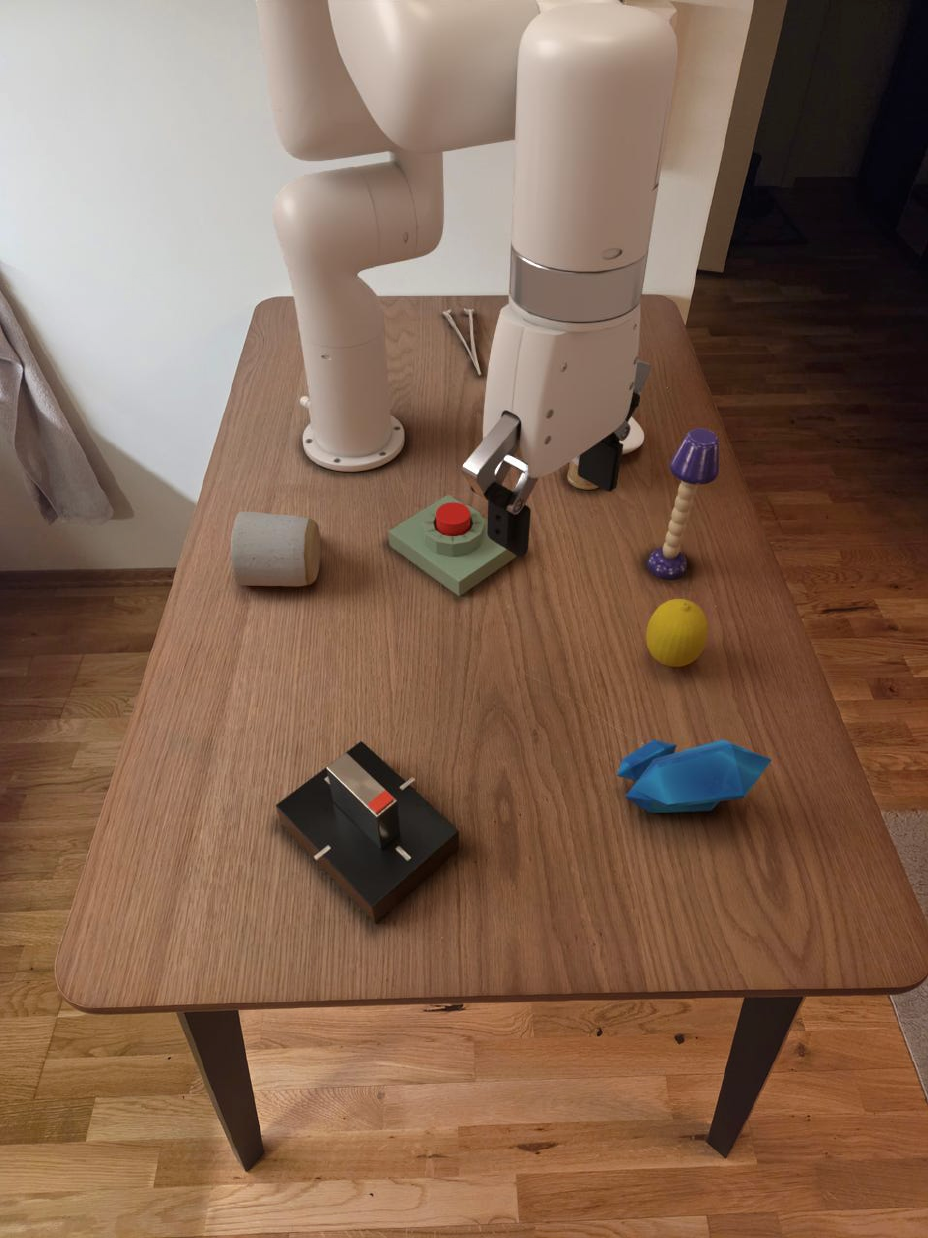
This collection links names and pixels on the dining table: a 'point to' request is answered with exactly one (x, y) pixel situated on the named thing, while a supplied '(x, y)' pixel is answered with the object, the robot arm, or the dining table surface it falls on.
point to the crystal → (690, 775)
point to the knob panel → (352, 854)
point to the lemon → (677, 632)
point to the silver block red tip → (364, 800)
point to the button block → (449, 548)
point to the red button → (453, 519)
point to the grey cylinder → (274, 549)
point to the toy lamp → (685, 497)
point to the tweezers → (473, 354)
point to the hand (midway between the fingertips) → (553, 512)
